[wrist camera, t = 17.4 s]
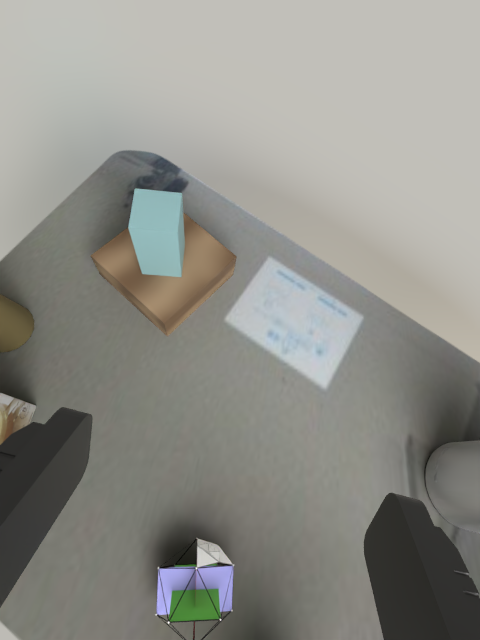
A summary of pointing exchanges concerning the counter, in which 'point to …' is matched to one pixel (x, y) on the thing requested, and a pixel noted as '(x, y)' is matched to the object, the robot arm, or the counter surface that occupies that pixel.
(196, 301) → the walnut block
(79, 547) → the counter surface
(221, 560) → the geometric puzzle
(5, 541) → the robot arm
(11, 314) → the cork
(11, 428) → the coffee box
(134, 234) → the teal block
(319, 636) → the counter surface
